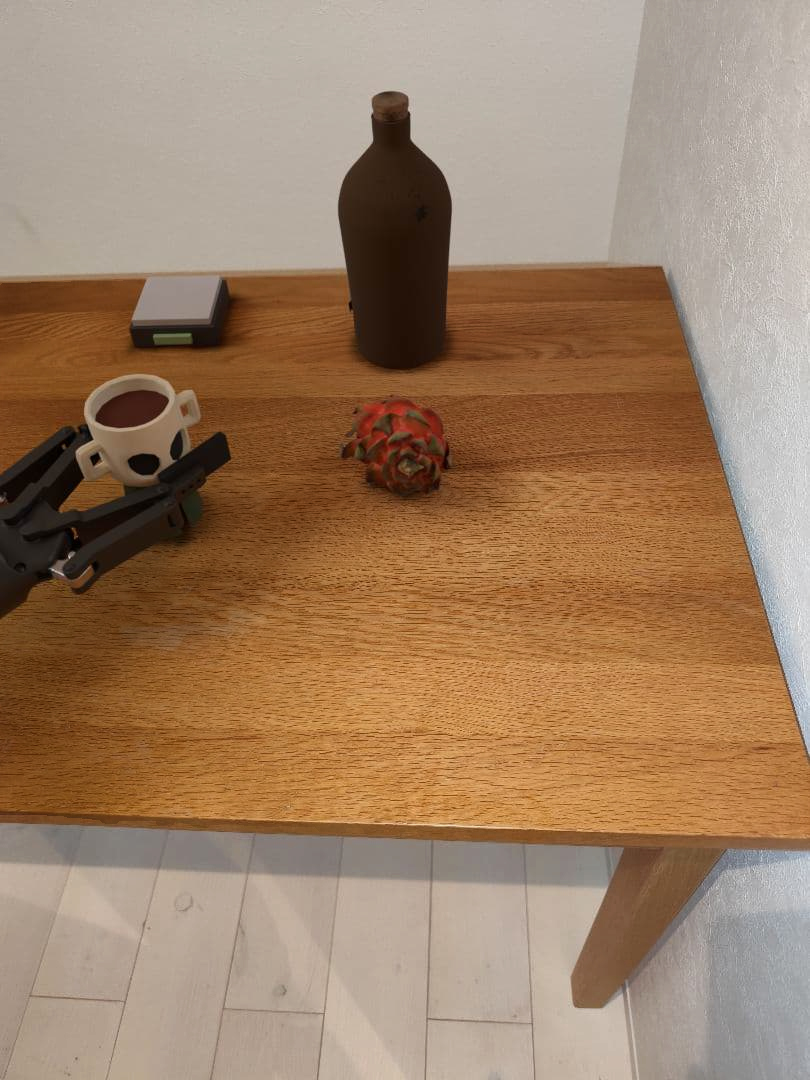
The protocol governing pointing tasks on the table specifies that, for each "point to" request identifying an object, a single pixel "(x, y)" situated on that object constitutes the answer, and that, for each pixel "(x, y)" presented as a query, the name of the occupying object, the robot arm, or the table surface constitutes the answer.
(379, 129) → the olive oil
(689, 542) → the table surface
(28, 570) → the robot arm
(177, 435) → the character mug
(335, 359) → the table surface
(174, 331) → the scale
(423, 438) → the dragon fruit
